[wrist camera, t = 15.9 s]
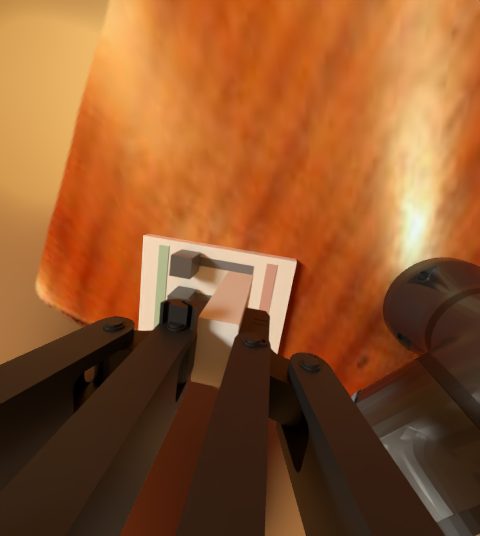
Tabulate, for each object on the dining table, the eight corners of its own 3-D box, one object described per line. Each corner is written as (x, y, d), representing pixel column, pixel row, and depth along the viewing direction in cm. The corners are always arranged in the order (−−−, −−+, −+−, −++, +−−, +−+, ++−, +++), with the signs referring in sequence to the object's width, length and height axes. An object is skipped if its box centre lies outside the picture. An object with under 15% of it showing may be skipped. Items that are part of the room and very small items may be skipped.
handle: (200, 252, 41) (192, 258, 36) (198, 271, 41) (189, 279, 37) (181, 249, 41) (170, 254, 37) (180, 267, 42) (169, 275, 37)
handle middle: (196, 289, 42) (187, 299, 38) (194, 306, 43) (185, 318, 39) (178, 285, 42) (167, 295, 38) (176, 303, 43) (165, 314, 39)
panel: (295, 259, 42) (296, 261, 39) (275, 353, 46) (276, 360, 44) (149, 233, 44) (143, 235, 42) (143, 327, 48) (137, 332, 46)
